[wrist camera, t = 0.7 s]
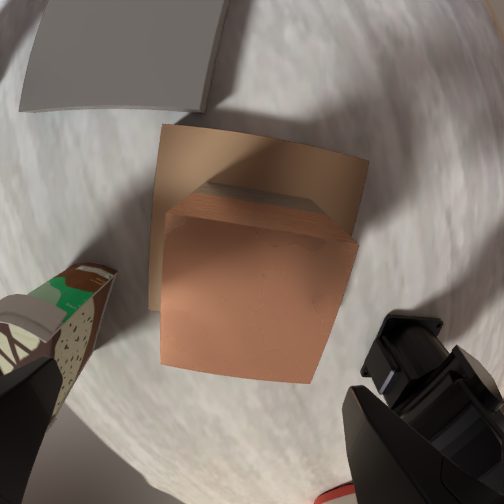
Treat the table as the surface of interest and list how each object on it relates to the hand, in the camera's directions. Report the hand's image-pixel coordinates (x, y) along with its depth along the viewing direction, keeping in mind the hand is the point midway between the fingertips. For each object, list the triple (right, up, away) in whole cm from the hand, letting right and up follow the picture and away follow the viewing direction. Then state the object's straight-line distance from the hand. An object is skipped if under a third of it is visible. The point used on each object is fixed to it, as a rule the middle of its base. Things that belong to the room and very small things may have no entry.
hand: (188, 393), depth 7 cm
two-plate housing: (+2, +5, +10) cm, 11 cm away
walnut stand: (+2, +5, +12) cm, 13 cm away
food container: (-13, 0, +14) cm, 19 cm away
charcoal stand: (-7, +20, +6) cm, 22 cm away
